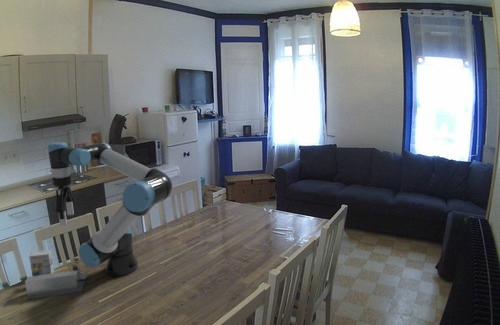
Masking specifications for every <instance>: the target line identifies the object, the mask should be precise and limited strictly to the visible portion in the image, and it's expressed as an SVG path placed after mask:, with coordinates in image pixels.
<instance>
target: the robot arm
mask: <svg viewBox="0 0 500 325" xmlns="http://www.w3.org/2000/svg"><path fill="white" fill-rule="evenodd" d="M47 150H48V152H47V153H48V159H49V164H50V165H49V166H50V170H49V172H51V177H52V178H51V179H52V185H53V186H54V187H57V188H58V189H55V194H56V199H55V201H56V204H55V206H56V210H55V213H56V214H58V220H59V226H60V227H63V226H67V225H68V220H67V216H74V214H75V213H74V206H73V205H74V204H73V202H74V201H75V198H74V194H73V193H72V189H71V186H70V185H71V184H72V175H71V174H72V173H71V167H70V166H77V167H80V166H82V167H84V166H87V165H88V164H89V163H91V162H95V161H97V162H99V163H101V164H103V165H105V166H106V167H109V168H111V169H113V170H115V171H117V172H119V173H121V174H122V175H124V176H127V177H128V178H130V179H133V180H135V181H133V182H131V183H130V184H128V185H126V187H125V188H124V190H123V192H122V205H120V207H119V208H118V210H116V211H115V213H114V214H113V215H112V217H110V219H109V220H108V222H107V223H106V224H105V225H104V227H103V228H102V229H101V230H98V231H96V232H95V233H93V235H92V236H91V238H90V239H89V240H88V241H85V242H83V243H82V244H81V245H80V246H79V247H78V255H79V259H81V261H82V263H84V265H85V266H87V267H89V268H95V267H97V266H100V265H101V264H103V263H104V262H106V266H105V271H106V274H107V275H109V276H112V277H121V276H126V275H130V274H132V273H133V272H135V271H137V269H139V262H138V259H137V257H136V255H135V253H134V246H133V232H132V226H133V225H134V223H135V222H136V221H137V220H138V218H140V217H144V216H145V215H147V213H149V211H150V210H151V209H152V208H153V207H154V206H156V205H157V204H159V203H160V202H161V203H162V202H163V201H165V200H167V198H169V197H170V195H171V193H172V191H173V183H172V180H171V178H170V177H169V176H168V175H167V174H166V173H165V172H163V171H161V170H159V169H157V168H155V167H152V168H150V167H148V166H146V165H144V164H142V163H139V162H137V161H135V160H134V159H131V158H129V157H128V156H126V155H123V154H121V153H119V152H117V151H114V150H113V149H112V147H111V145H109V143H107V142H98V143H95V144H94V143H93V144H89V145H85V146H79V147H78V146H77V147H68V144H67V143H66V142H64V141H58V142H57V141H55V142H51V143H49V144H48V145H47ZM65 209H66V210H65Z"/></svg>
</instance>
